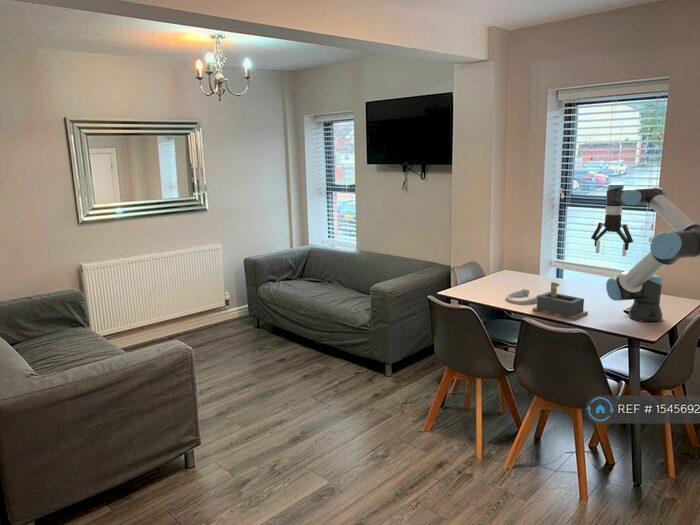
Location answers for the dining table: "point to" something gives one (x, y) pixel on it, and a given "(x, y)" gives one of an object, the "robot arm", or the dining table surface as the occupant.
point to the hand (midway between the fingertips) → (610, 254)
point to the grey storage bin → (560, 304)
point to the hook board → (553, 295)
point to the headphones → (522, 293)
